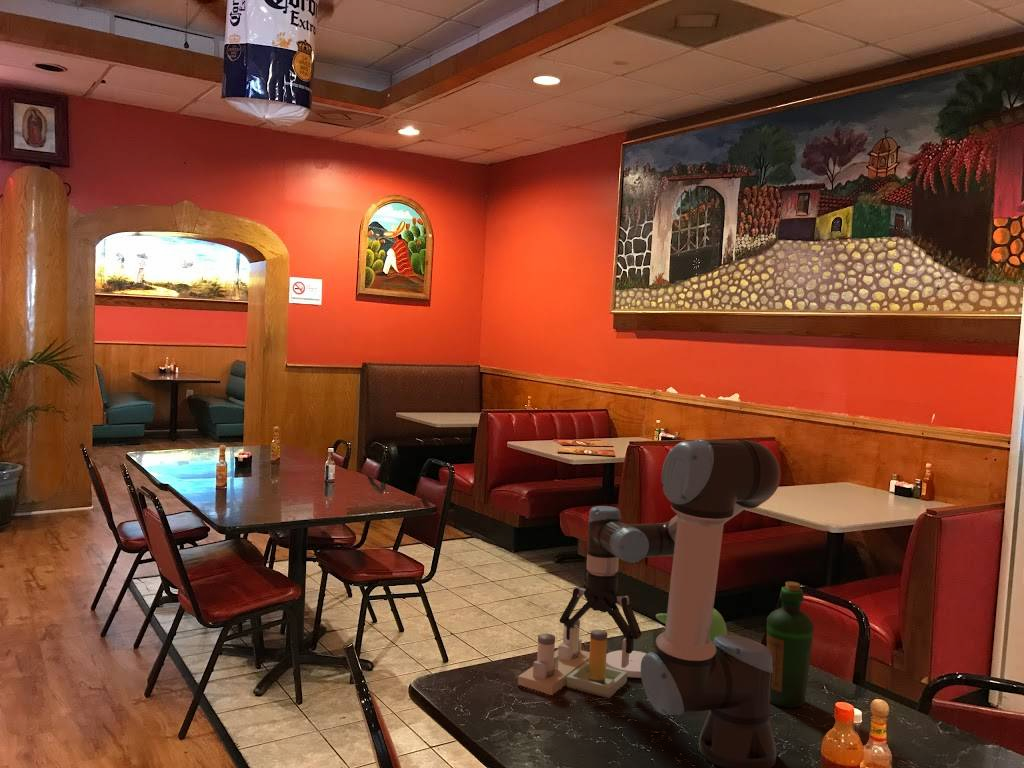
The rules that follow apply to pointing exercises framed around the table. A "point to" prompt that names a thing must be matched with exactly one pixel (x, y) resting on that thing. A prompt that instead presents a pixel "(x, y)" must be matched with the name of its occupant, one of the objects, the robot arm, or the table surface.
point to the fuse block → (553, 663)
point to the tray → (581, 682)
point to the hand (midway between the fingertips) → (598, 659)
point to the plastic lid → (632, 668)
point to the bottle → (789, 648)
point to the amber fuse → (597, 656)
